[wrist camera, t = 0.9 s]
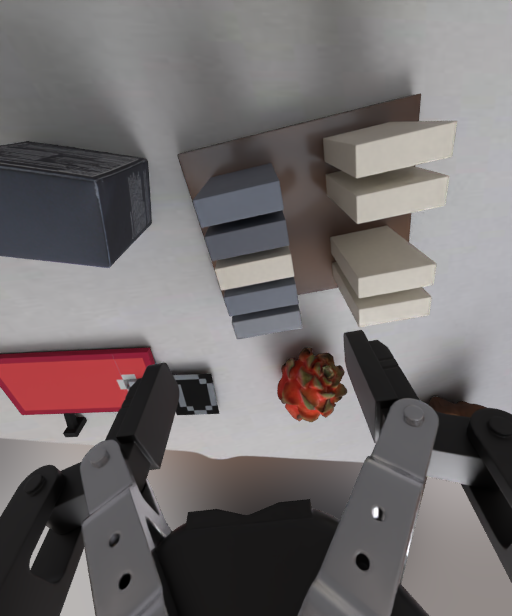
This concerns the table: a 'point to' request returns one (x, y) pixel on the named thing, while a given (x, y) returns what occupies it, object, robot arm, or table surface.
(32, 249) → the small box
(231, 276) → the cream thin block
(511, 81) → the table surface
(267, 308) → the grey books
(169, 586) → the robot arm
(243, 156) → the board
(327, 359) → the dragon fruit
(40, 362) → the red board with handle
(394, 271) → the white books
